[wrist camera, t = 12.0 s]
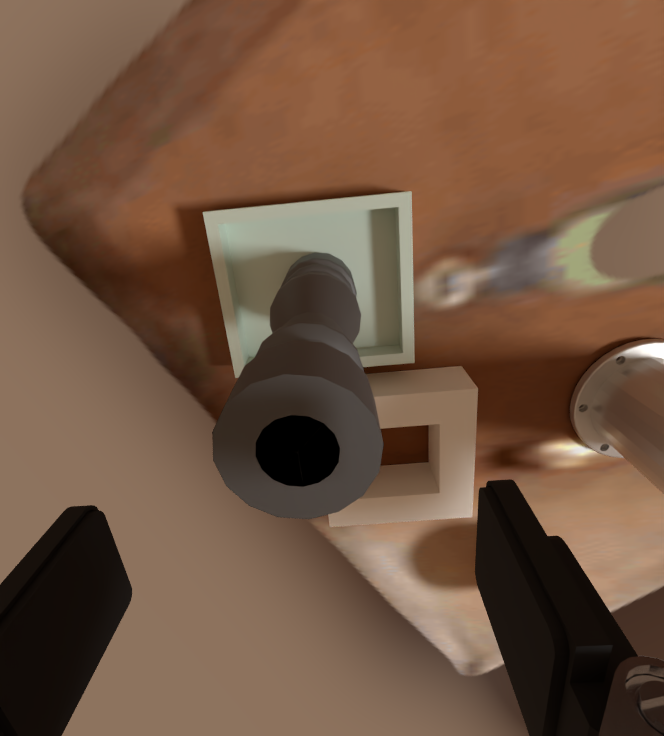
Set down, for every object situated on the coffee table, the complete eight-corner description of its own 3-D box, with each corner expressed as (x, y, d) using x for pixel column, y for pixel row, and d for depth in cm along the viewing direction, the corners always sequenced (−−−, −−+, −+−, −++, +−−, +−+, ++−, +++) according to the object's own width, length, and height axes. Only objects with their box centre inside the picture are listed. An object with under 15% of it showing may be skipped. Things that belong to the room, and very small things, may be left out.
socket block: (461, 365, 41) (478, 388, 36) (458, 484, 46) (472, 517, 42) (316, 377, 41) (314, 401, 37) (330, 493, 47) (329, 527, 42)
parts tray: (405, 191, 35) (411, 191, 32) (409, 350, 40) (414, 362, 37) (212, 210, 35) (202, 212, 33) (241, 365, 41) (235, 377, 38)
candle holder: (312, 236, 35) (275, 325, 12) (369, 282, 37) (430, 439, 14) (269, 294, 37) (168, 464, 14) (325, 335, 39) (314, 551, 16)
